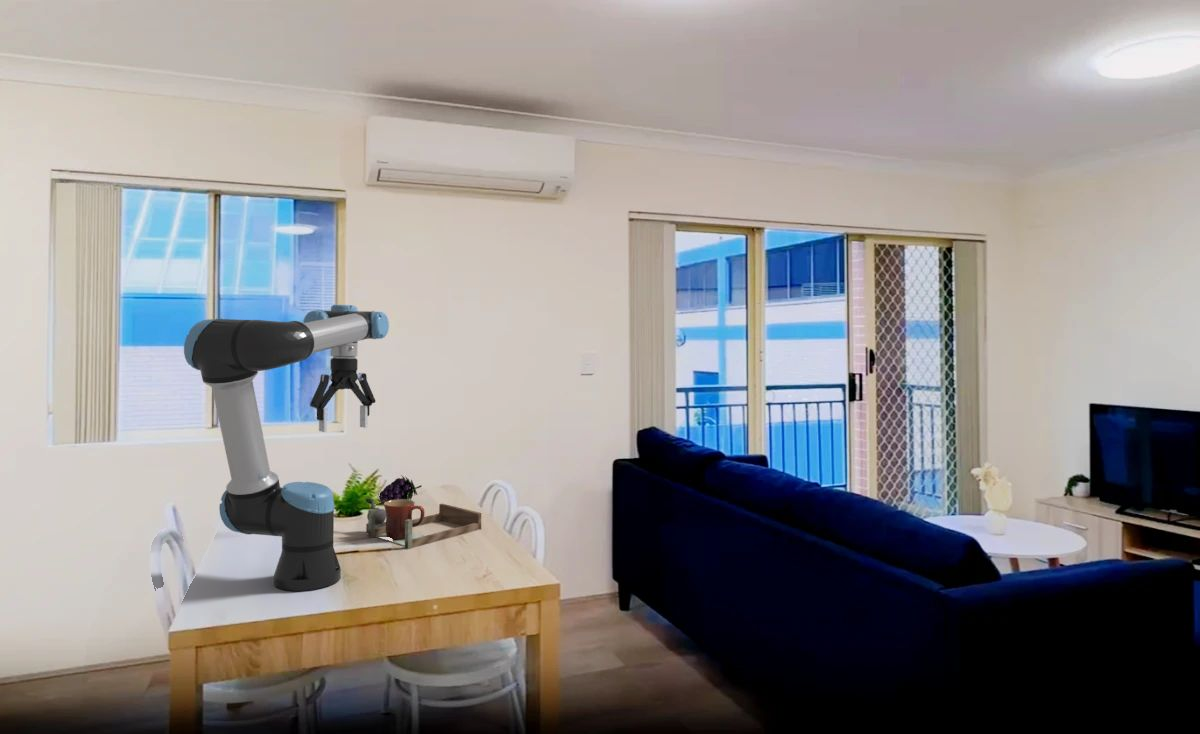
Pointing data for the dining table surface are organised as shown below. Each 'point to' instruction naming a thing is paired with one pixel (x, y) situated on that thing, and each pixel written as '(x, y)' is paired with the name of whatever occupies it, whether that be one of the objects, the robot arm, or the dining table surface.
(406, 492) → the fruit
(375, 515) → the tray
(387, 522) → the mug
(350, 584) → the dining table surface
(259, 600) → the dining table surface
